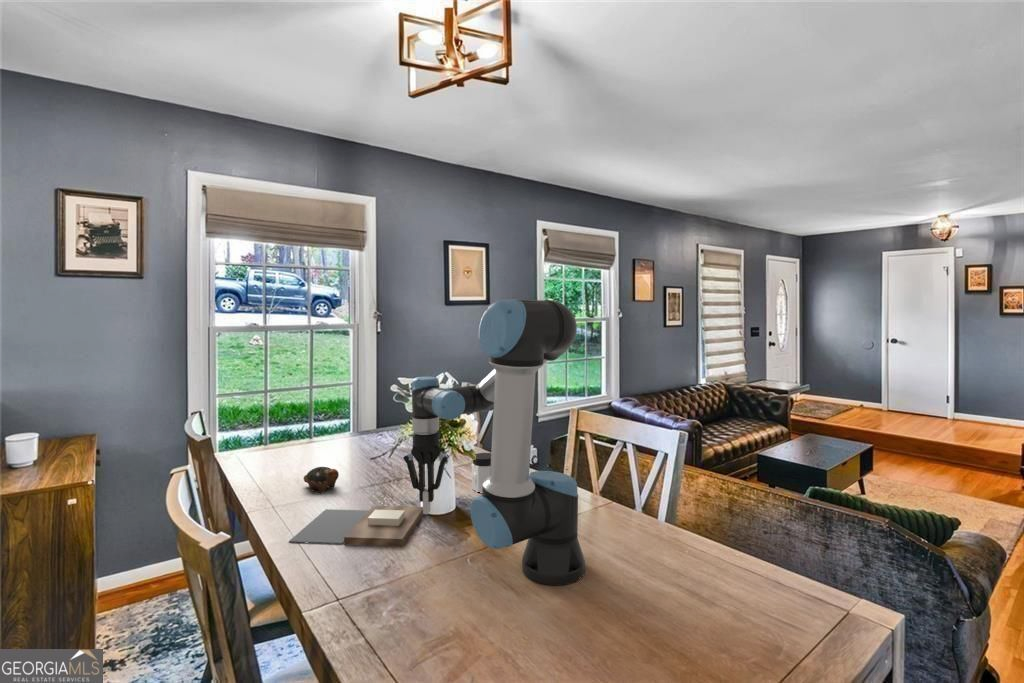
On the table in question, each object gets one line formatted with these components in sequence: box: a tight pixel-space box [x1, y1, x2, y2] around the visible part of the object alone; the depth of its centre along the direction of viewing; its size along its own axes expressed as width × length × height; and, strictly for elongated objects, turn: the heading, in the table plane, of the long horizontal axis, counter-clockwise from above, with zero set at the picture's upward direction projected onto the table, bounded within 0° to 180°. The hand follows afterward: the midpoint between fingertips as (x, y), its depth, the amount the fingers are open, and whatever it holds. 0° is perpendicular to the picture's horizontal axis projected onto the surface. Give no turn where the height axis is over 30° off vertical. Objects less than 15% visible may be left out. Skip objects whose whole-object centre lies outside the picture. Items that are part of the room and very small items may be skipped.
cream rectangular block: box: [368, 510, 405, 526], centre depth 143 cm, size 9×6×2 cm, turn 85°
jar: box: [471, 452, 491, 492], centre depth 174 cm, size 9×8×12 cm
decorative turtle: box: [303, 466, 340, 493], centre depth 176 cm, size 10×15×8 cm, turn 71°
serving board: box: [343, 505, 424, 547], centre depth 143 cm, size 16×22×2 cm
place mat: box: [288, 508, 370, 545], centre depth 145 cm, size 15×22×1 cm
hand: (426, 512), depth 142 cm, fingers closed
